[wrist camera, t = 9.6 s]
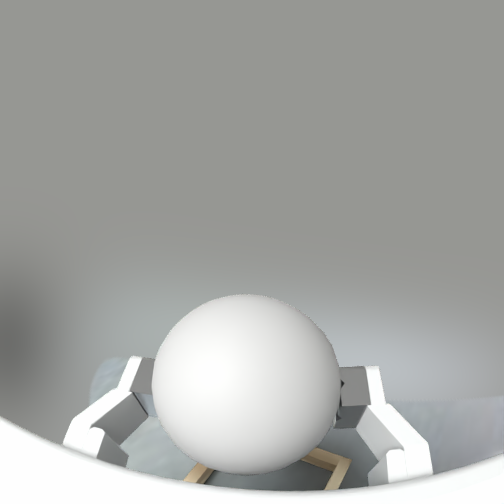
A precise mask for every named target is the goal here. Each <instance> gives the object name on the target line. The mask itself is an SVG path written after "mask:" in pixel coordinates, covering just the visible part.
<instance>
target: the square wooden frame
mask: <svg viewBox="0 0 504 504" xmlns="http://www.w3.org/2000/svg"><path fill="white" fill-rule="evenodd" d="M300 460H302V461H305V462H308V463H310V464H313V465H316V466H318V467H321V468H324V469H327V470H329V471H332V472H333V473H332V475H331V477H330V479H329V481H328V483H327V485H326V487H325V488H324V490H337V489H338V488H339V486H340V484H341V482H342V480H343V478H344V476H345V474H346V472H347V469H348V467H349V465H350V463H351V461H352V460H351V459H348V458H345V457H342V456H339V455H336V454H333V453H330V452H328V451H325V450H322V449H319V448H317V447H315V448H314V449H313V450H312V451H311V452H310V453H308V454H307V455H306V456H305V457H303V458H302V459H300ZM213 471H214V469H211V468H208V467H205V466H204V465H202V464H200V463H197V464H196V465H195V466H194V468H193V469H192V470H191V471H190V473H189V474H188V475H187V476H186V478H185V479H184V480H183V481H186V482H192V483H198V484H204V482H205V481H206V480H207V479H208V477H209V476H210V475H211V473H212V472H213Z"/></svg>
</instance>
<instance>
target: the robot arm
mask: <svg viewBox="0 0 504 504" xmlns="http://www.w3.org/2000/svg"><path fill="white" fill-rule="evenodd" d="M154 362H155V359H151V358H145V357H137V356H132V357H131V358H130V359H129V361H128V364H127V366H126V368H125V371H124V373H123V375H122V378H121V380H120V382H119V385H118V387H117V389H112V390H111V391H110V392H108V393H107V394H106V395H104V396H103V397H102V398H100V399H99V400H98V401H96V402H95V403H94V404H92V405H91V406H90V407H88V408H87V409H86V410H84V411H83V412H82V413H80V414H79V415H78V416H76V417H75V418H74V419H73V420H72V422H71V424H70V427H69V429H68V431H67V434H66V436H65V439H64V441H63V444H62V445H59V444H57V443H54V442H52V441H50V440H47V439H45V438H43V437H41V436H39V435H36V434H34V433H32V432H30V431H28V430H26V429H24V428H22V427H20V426H18V425H16V424H14V423H12V422H11V421H9V420H7V419H5V418H3V417H1V416H0V504H504V453H501V454H498V455H496V456H493V457H490V458H488V459H485V460H482V461H479V462H476V463H473V464H470V465H467V466H463V467H460V468H457V469H453V470H450V471H446V472H442V473H438V474H434V475H433V470H432V464H431V458H430V452H429V446H428V443H427V442H426V441H425V440H424V439H423V438H422V436H421V435H420V434H419V433H418V432H417V431H416V430H415V429H414V428H413V427H412V426H411V425H410V424H409V423H408V422H407V421H406V420H405V419H404V418H403V417H402V416H401V415H400V414H399V413H398V412H397V410H396V409H395V408H394V407H393V406H392V405H391V404H386V400H385V395H384V390H383V384H382V379H381V374H380V369H379V367H378V366H357V367H339V368H340V378H341V397H340V403H339V408H338V411H337V413H336V415H335V418H334V420H333V429H344V428H356V430H357V432H358V433H359V435H360V436H361V437H362V439H363V440H364V441H365V443H366V444H367V446H368V447H369V448H370V450H371V451H372V452H373V454H374V455H375V456H376V458H377V459H378V461H379V462H378V463H377V465H376V466H375V467H374V468H373V469H372V470H371V471H370V472H369V473H368V487H360V488H349V489H337V490H318V491H271V490H252V489H239V488H229V487H220V486H212V485H205V484H198V483H192V482H186V481H181V480H176V479H171V478H166V477H161V476H157V475H152V474H148V473H144V472H140V471H136V470H132V469H129V468H125V467H126V464H127V460H128V457H129V456H128V454H127V453H126V452H125V451H124V450H123V449H122V448H121V447H120V446H119V445H120V444H121V443H123V442H124V441H125V440H126V439H127V438H128V437H129V436H130V435H131V434H132V433H133V432H134V431H135V430H136V429H137V428H138V427H139V426H140V425H141V424H142V423H143V422H144V421H145V420H146V419H147V418H148V416H152V417H158V416H157V413H156V411H155V406H154V401H153V394H152V377H153V369H154Z"/></svg>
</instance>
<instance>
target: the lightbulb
mask: <svg viewBox="0 0 504 504" xmlns="http://www.w3.org/2000/svg"><path fill="white" fill-rule="evenodd" d="M152 394H153V401H154V406H155V411H156V413H157V416H158V418H159V421H160V423H161V426H162V427H163V428H164V430H165V431H166V433H167V434H168V436H169V437H170V438H171V440H172V441H173V443H174V444H175V445H176V446H177V447H178V448H179V449H180V450H181V451H182V452H184V453H185V454H186V455H187V456H188V457H189V458H191V459H193V460H195V461H196V462H198V463H200V464H202V465H204V466H205V467H208V468H211V469H214V470H218V471H221V472H224V473H228V474H235V475H246V476H248V475H259V474H267V473H270V472H273V471H277V470H280V469H283V468H285V467H287V466H289V465H291V464H293V463H294V462H296V461H298V460H300V459H302V458H303V457H305V456H306V455H307V454H308V453H310V452H311V451H312V450H313V449H314V448H315V447H316V446H318V445H319V443H320V442H321V441H322V439H323V438H324V437H325V435H326V434H327V433H328V431H329V429H330V427H331V425H332V423H333V420H334V418H335V415H336V413H337V411H338V408H339V403H340V397H341V378H340V368H339V365H338V362H337V359H336V356H335V353H334V350H333V347H332V345H331V343H330V342H329V340H328V339H327V337H326V335H325V334H324V333H323V331H322V330H321V329H320V328H318V326H317V325H316V324H315V323H314V322H313V321H312V320H311V319H310V318H309V317H308V316H306V315H305V314H304V313H302V312H301V311H300V310H298V309H296V308H294V307H292V306H290V305H288V304H286V303H284V302H282V301H280V300H277V299H273V298H271V297H266V296H260V295H248V294H241V295H231V296H226V297H222V298H218V299H215V300H212V301H209V302H207V303H205V304H203V305H201V306H199V307H197V308H195V309H194V310H193V311H191V312H190V313H189V314H188V315H186V316H185V317H184V318H182V319H181V320H180V321H179V322H178V323H177V324H176V325H175V326H174V327H173V328H172V329H171V331H170V333H169V334H168V336H167V337H166V339H165V341H164V342H163V343H162V345H161V347H160V348H159V351H158V354H157V356H156V359H155V362H154V369H153V377H152Z"/></svg>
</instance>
